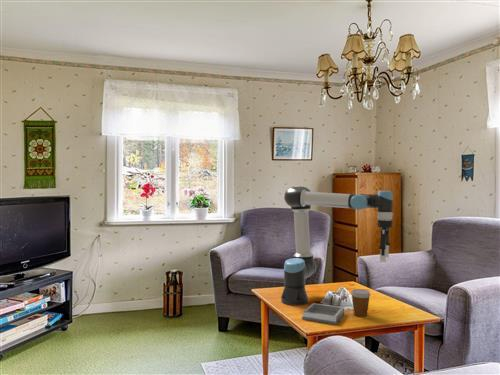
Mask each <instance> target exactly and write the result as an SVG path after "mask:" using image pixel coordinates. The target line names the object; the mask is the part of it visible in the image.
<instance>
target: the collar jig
mask: <svg viewBox="0 0 500 375" xmlns="http://www.w3.org/2000/svg"><path fill="white" fill-rule="evenodd" d="M344 316H345V307H344V306H343V307H342V306H336V305H329V304H328V305H327V304H322V303H313V302H312V303H311V304H310V305H309V306H308V307H306V308H305V310H303V312H302V317H301V319H302V320H305V321H310V322H318V323H322V324H323V323H324V324H330V325H334V326H335V325H338V323H340V321H341V319H342V318H343V317H344Z"/></svg>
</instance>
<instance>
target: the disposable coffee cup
mask: <svg viewBox="0 0 500 375" xmlns="http://www.w3.org/2000/svg"><path fill="white" fill-rule="evenodd" d="M350 294H351V298H352V308H353V315H354V316H356V317H361V318H364V317H367V316H368V311H369V310H368V309H369V304H370V297H371V293H370V290H367V289H363V288H362V289H360V288H359V289H358V288H356V289H355V288H354V289H352V290H351V292H350Z"/></svg>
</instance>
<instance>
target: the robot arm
mask: <svg viewBox="0 0 500 375" xmlns="http://www.w3.org/2000/svg"><path fill="white" fill-rule="evenodd" d="M283 199H284V202H285V203H286V204H287V206H289V207H290V210H291V211H292V212H293V219H294V221H293V223H294V239H295V242H294V243H295V253H294V254H293V258H288V259H286V260H285V262H284V265H283V272H284V273H283V276H284V278H283V279H284V280H283V282H284V283H283V290H282V292H281V293H282V294H281V297H280V302H282V303H283V304H285V305H289V306H290V305H292V306H302V305H303V306H304V305H306V304H308V303H309V297H308V293H307V290H306V279H307V278H310V277H312V276H313V275H314V274H315V273H316V271H317V263H316V260H315V259H314V254H313V253H312V251H311V236H310V218H309V211H310V210H312V209H311V208H312V207H311V206H314V207H315V206H316V207H327V208H329V207H330V208H342V209H343V208H344V209H352V210H357V211H358V210H359V211H361V210H365V209H377V227H378V228H381V229H380V242H379V244H380V245H379V247H378V249H379V250H380V252H379V254H380V255H379V259H380V260H379V262H382V263H386V261H387V258H389V257H390V256H389V254H390V252H389V250H390V245H391V242H390V230H389V228H393V216H394V215H395V213H393V209H394V208H393V207H394V206H393V204H394V197H393V192H392V191H391V190H378V191H377V194H372V193H357V194H356V193H355V194H354V193H353V194H351V193H338V192H337V193H336V192H322V191H321V192H320V191H311V190H310V189H309V187H305V186H291V187H289V188H287V190H286V191H285V192H284V198H283Z"/></svg>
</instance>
